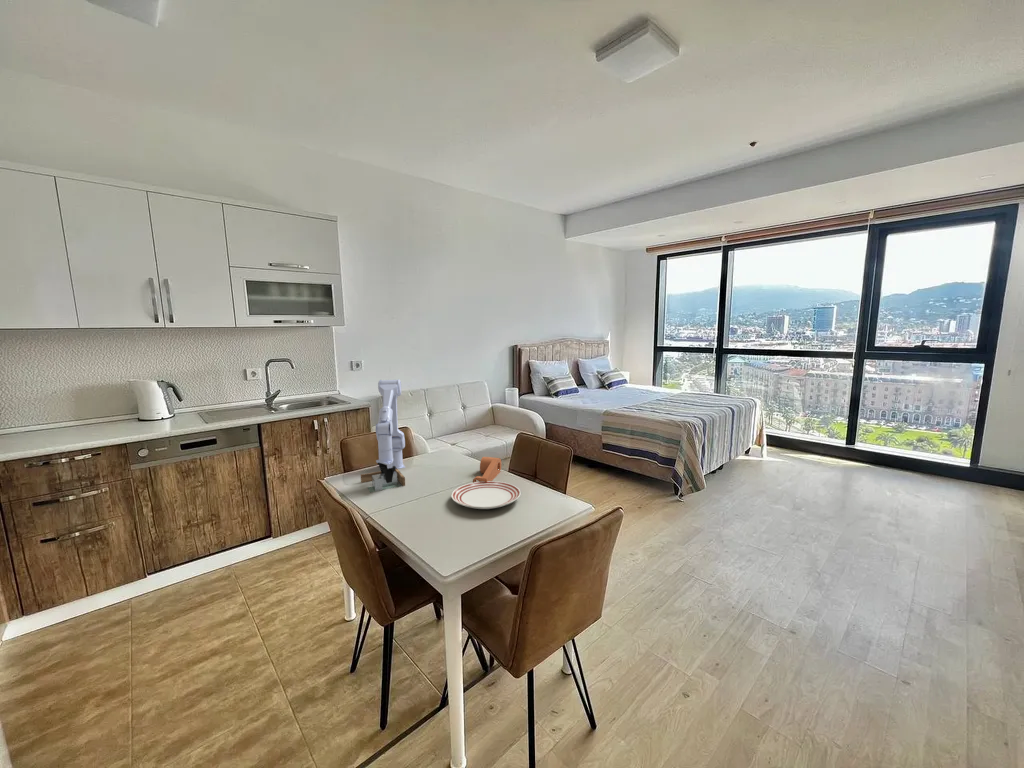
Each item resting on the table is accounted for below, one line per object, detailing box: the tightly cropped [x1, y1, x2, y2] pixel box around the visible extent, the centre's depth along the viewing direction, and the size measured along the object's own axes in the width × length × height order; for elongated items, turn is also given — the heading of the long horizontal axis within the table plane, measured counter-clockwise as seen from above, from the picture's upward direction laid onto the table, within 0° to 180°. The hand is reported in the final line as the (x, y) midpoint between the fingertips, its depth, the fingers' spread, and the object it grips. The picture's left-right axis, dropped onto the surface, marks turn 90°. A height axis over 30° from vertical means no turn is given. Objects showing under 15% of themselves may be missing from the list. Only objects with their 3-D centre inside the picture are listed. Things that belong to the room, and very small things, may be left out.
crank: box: [472, 456, 502, 483], centre depth 180 cm, size 20×8×8 cm, turn 163°
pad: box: [367, 484, 402, 493], centre depth 172 cm, size 8×13×1 cm, turn 120°
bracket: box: [371, 471, 398, 492], centre depth 171 cm, size 10×6×5 cm, turn 120°
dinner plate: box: [450, 480, 522, 510], centre depth 157 cm, size 27×27×3 cm
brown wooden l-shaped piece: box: [360, 468, 406, 487], centre depth 174 cm, size 14×16×4 cm
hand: (387, 479), depth 173 cm, fingers open, 7 cm apart
